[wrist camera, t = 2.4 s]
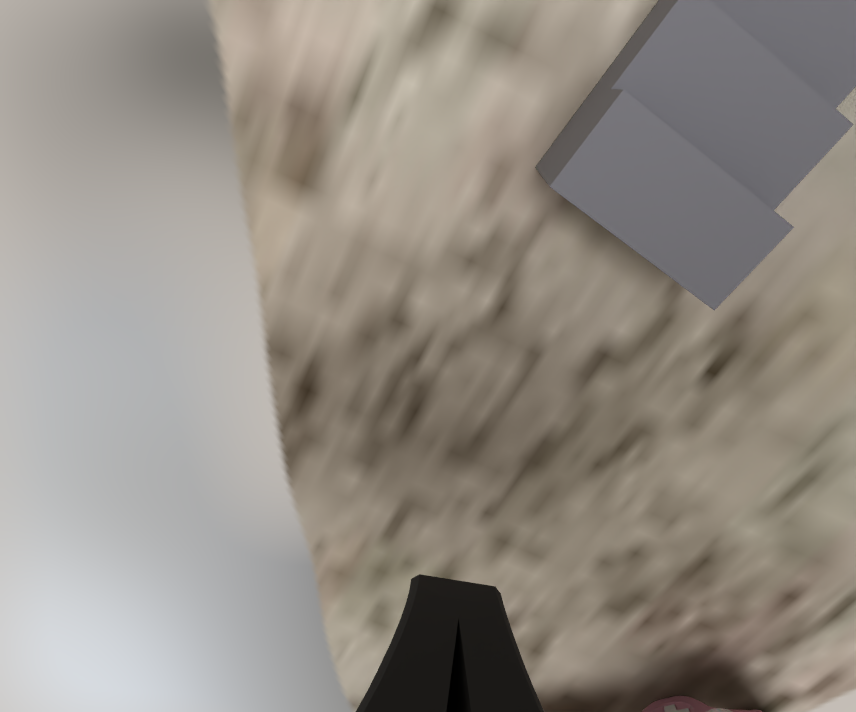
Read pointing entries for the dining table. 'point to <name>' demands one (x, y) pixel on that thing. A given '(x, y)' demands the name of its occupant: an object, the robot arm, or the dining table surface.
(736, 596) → the dining table surface
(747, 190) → the grey stepped block
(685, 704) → the video game controller
